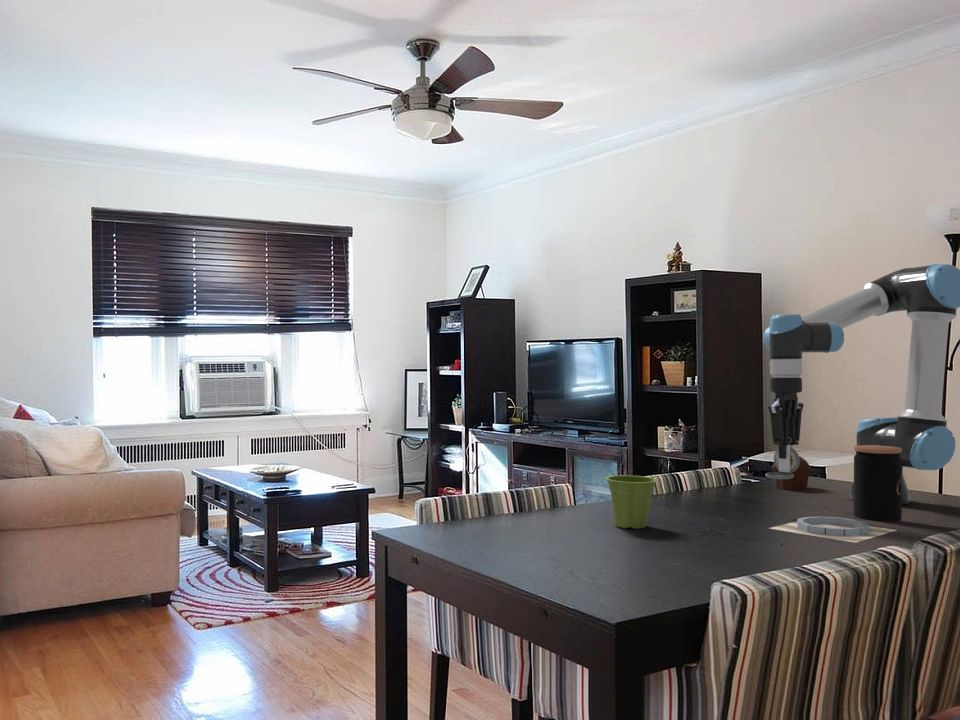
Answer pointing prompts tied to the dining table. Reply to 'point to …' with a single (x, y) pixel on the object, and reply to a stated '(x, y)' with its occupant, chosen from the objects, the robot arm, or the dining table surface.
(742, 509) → the dining table surface
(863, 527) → the slate ring
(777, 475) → the pocket watch
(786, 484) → the muffin
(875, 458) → the coffee jar
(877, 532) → the ash board
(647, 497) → the plant pot
